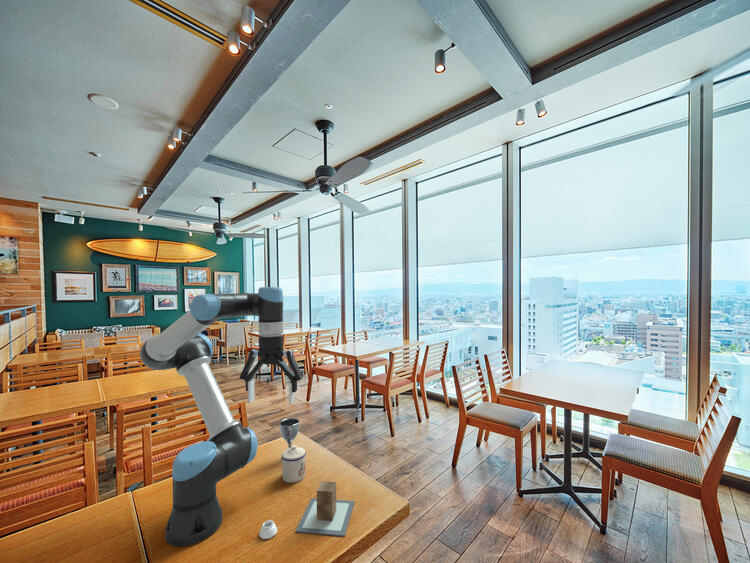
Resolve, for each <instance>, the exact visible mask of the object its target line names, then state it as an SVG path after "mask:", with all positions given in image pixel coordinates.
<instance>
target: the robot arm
mask: <svg viewBox="0 0 750 563" xmlns="http://www.w3.org/2000/svg"><path fill="white" fill-rule="evenodd" d="M191 299H192V300H191V302H190V304H189V310H188V311H186V312H185V314H182V316H181V317H179V318H178V319H177V320H176V321H174V322H173V323H172V324H170V325H169V326H168V327H167V328H165V329H164V330H163V331H161V332H160V333H159V334H155V335H152V336H151V337H149V338H148V339H147V340H145V342H144V343H143V344H142V346H141V348H140V350H139V357H140V360H141V362H142V364H143V365H144V366H146V367H147V368H149V369H151V370H156V371H166V370H171V369H176V373H177V374H178V375H179V376H182V377H184V378H185V380H186V382H187V385H188V387H189V390H190V392H191V394H192V397H193V400H194V402H195V403H196V406H197V408H198V411H199V413H200V415H201V418H202V419H203V422H204V424H205V427H206V429H207V431H208V433H209V437H208V439H207V440H206V441H205V440H202V441H200V442H198V443H197V442H195V443H193V444H191V445H189V446H187V447H185V448H184V449H182V450H181V451H180V452H179V453H178V454H177V455H176V456H175V458H174V460H173V463H172V471H171V479H172V509H171V512H170V515H169V518H168V520H167V524H166V526H165V542H166V544H168V545H170V546H172V547H176V548H177V547H179V548H180V547H181V548H182V547H183V548H184V547H188V546H192V545H195V544H198V543H200V542H203V541H205V540H206V539H208V538H209V537H210V536H212V535H213V534H214V533H215V532H216V531H217V530H219V528H220V526H221V525H222V523H223V508H222V506H221V504H220V503H219V499H218V496H217V484H218V483H219V482H221V481H222V480H224V479H225V478H228V477H229V476H230V475H232V474H234V473H235V472H236V471H239V470H240V469H243V468H245V467H246V466H247V465H248V464H250V463H251V462H252V461H253V460H254V459H255V458H256V456H257V451H258V438H257V436H256V433H255V431H254V430H253V429H251V427H244V426H243V423H242V422H241V421H238V420H235V418H234V415H233V414H232V411H231V410H230V407H229V405H228V403H227V401H226V399H225V397H224V394H223V392H222V390H221V388H220V386H219V384H218V382H217V380H216V377H215V375H214V372H213V370H212V369H211V367H210V364H211V363H212V362H211V361H212V357H213V353H214V351H213V344H212V341H211V340H210V338H209V337H207V335H206V334H204V333H202V332H203V331H205V330H206V329H208V328H209V327H210V326H211V325H213V324H214V323H216V322H217V321H218V320H221V319H227V318H228V319H230V318H239V317H240V318H241V317H248V316H249V317H250V316H251V317H255V316H256V317H258V335H259V336H258V350H257V349H256V348H253V349H251V350H249V351H248V358H247V360H246V362H245V363H244V367H243V368H242V371H241V372H240V376H239V379H240V380H243V381H245V391H246V392H247V402H248V403H252V402H253V401H255V392H256V391H255V386H256V385H255V379H253V378H254V377H255V376H256V374H257V373H258V372H259V370H260V369H261V368H262V366H264V365H265V366H268V365H271V366H275V365H277V366H278V367H279V368H280V369H281V371H282V372H283V373H284V374H285V376H286V377H287V378H288V380H289V382H288V404H289V405H292V404H293V403H294V402H296V401H295V398H296V397H295V393H296V392H297V391H298V381H301V380H302V379H303V378H304V376H303V373H302V371H301V369H300V367H299V365H298V363H297V360H296V358H295V356H294V350H293V349H289V350H284V336H283V333H284V292H283V288H282V287H280V286H274V287H273V286H262V287H261V286H260V287H259V288H258V292H257V293H256V292H255V293H254V292H250V293H249V292H244V293H243V292H241V293H205V294H197V295H195V296H194V297H193V298H191ZM284 356H285V357H284ZM256 357H259V360H258V361H257V362H256V364H255V365H254V361H255V360H256ZM283 357H284V358H286V359H287V362H288V364H289V365H288V364H287V363H286V360H285V359H284V358H283ZM253 365H254V366H253ZM252 366H253V368H252ZM289 366H290V367H289Z"/></svg>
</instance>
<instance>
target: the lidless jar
mask: <svg viewBox="0 0 750 563" xmlns="http://www.w3.org/2000/svg"><path fill="white" fill-rule="evenodd" d="M277 532H278V527H277V526H276V524H275V522H274V521H273V520H272V519H268V520H266V521H264V522H263V524H262V525H261V528H260V529H259V533H258V534H259V537H260V538H261V539H262V540H267V539H271V538H273V537H275V536H276V535H277Z"/></svg>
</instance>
